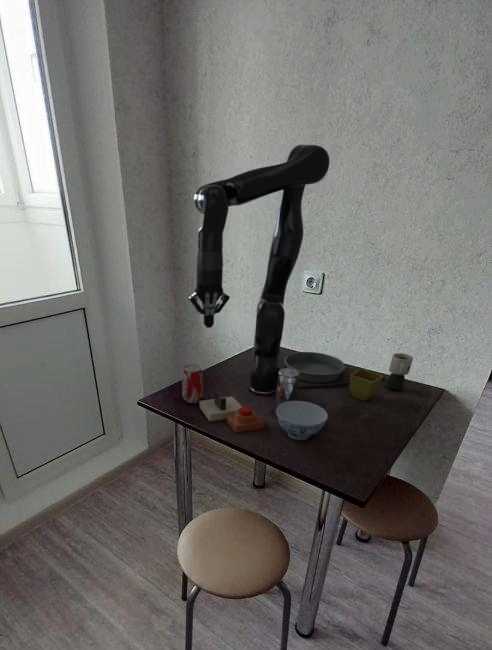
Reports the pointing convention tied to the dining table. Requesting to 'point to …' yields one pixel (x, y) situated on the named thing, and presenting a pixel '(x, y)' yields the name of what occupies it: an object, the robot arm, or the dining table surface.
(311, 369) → the cake pan
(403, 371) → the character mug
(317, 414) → the chinaware
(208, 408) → the panel
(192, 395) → the soda can
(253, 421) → the housing
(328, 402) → the dining table surface
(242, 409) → the button
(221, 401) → the oven dial
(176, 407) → the dining table surface
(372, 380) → the flower pot
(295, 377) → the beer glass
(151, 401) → the dining table surface
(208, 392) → the dining table surface
